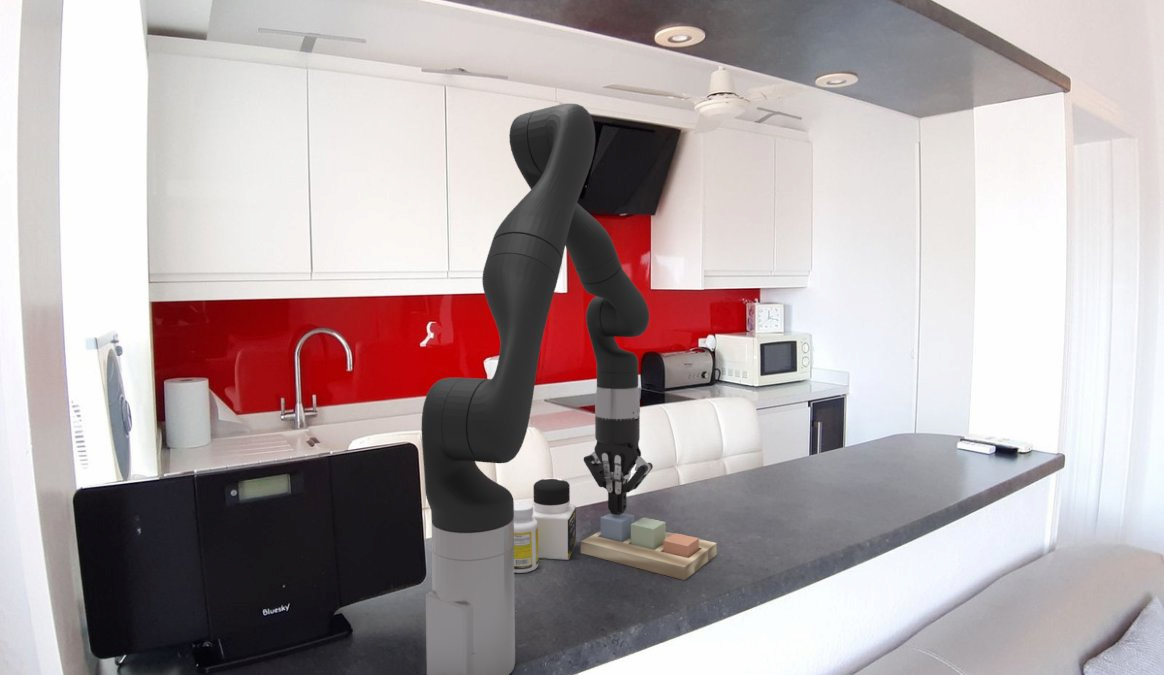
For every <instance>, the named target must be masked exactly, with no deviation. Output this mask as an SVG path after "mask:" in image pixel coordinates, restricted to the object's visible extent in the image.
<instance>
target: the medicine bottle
mask: <svg viewBox="0 0 1164 675" xmlns="http://www.w3.org/2000/svg"><path fill="white" fill-rule="evenodd" d="M570 486H571V485H570V483H569V481H567V480H564V479H563V478H557V477H548V478H542V479H539V480H537V481H536V482H534V484H533V515H532V517H533V518H535V519H536V520H537V523H538V559H547V560H562V561H568V560H570V558H571V555H572V553H573V552H574V549H575V547H576V545H577V506H576V504H572V503H571V498H570V496H571V492H570V490H571V489H570V488H571V487H570ZM570 503H571V504H570Z"/></svg>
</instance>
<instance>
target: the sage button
mask: <svg viewBox="0 0 1164 675" xmlns="http://www.w3.org/2000/svg"><path fill="white" fill-rule="evenodd" d="M666 524H667V523H666V521H661V520H657V519H653V518H648V517H645V516H644V517H642V518H640V519H638V520H636V521H634V523H632V524H631V545H636V546H640V547H644V548H648V549H652V550H655V549H657V548H658V547H660V546H661V545H663V541H664V540H665V539H666V532H667V531H666Z"/></svg>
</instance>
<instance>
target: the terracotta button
mask: <svg viewBox="0 0 1164 675" xmlns="http://www.w3.org/2000/svg"><path fill="white" fill-rule="evenodd" d="M699 539H700V538H699V537H695V536H691V535H686V534H681V533H676V532H675V533H673V535H672V536H670V537H668V538H667V539H665V540H664V541H663V552H665V553H669V554H673V555H677V556H681V557H686V558H690V557H691V556H692V555H694V554H695V553H696V552H698V551H699Z"/></svg>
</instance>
